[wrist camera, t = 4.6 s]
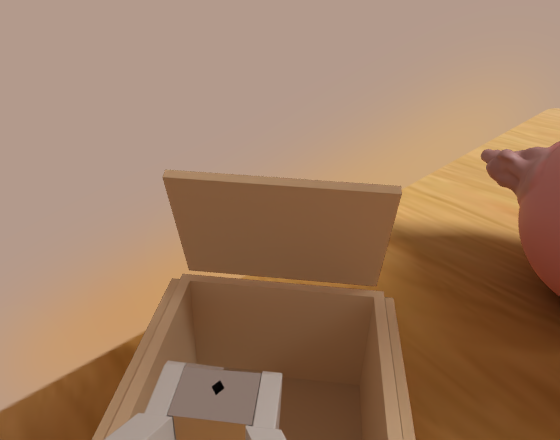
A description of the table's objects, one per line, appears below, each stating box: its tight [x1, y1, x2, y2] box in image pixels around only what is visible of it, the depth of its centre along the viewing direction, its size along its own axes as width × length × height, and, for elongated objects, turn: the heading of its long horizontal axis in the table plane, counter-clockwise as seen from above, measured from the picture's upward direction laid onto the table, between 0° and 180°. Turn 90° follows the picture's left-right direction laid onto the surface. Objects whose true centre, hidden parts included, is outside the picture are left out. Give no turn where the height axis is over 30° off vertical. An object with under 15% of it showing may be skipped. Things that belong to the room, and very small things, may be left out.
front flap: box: [163, 170, 402, 286], centre depth 25 cm, size 8×11×1 cm
